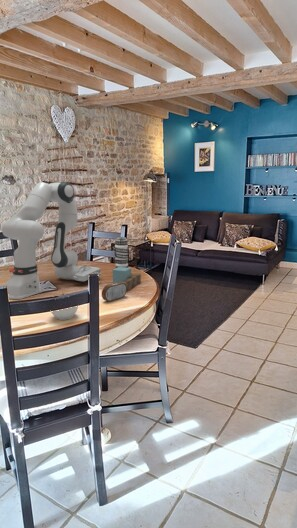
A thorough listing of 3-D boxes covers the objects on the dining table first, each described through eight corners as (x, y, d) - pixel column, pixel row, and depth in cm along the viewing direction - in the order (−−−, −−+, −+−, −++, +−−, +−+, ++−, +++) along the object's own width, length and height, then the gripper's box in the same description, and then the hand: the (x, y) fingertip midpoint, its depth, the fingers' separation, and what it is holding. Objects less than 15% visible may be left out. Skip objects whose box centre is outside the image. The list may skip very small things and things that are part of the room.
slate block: (125, 288, 200) (125, 271, 198) (113, 286, 203) (112, 269, 200) (131, 284, 207) (131, 267, 205) (119, 283, 210) (118, 266, 208)
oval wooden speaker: (123, 295, 187) (123, 280, 185) (127, 296, 185) (127, 281, 183) (101, 302, 176) (100, 285, 175) (105, 303, 174) (104, 287, 172)
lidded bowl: (52, 312, 162) (50, 289, 160) (80, 311, 163) (79, 288, 161) (47, 323, 150) (45, 298, 148) (77, 321, 151) (76, 297, 149)
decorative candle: (115, 274, 230) (114, 236, 224) (129, 274, 230) (129, 236, 224) (114, 278, 221) (113, 238, 215) (129, 278, 221) (128, 238, 215)
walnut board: (125, 292, 192) (125, 283, 191) (120, 291, 194) (120, 282, 192) (140, 281, 213) (140, 273, 211) (136, 281, 214) (136, 273, 212)
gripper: (69, 272, 203) (90, 274, 198) (87, 264, 222) (107, 266, 217) (70, 282, 205) (91, 285, 200) (88, 274, 223) (108, 276, 218)
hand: (99, 275), depth 209 cm, fingers closed
